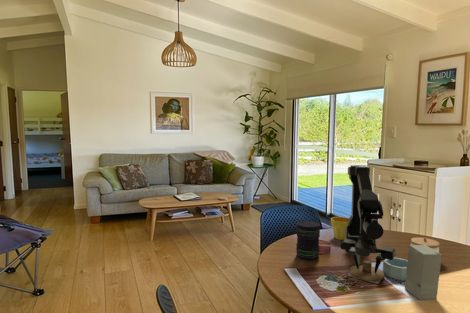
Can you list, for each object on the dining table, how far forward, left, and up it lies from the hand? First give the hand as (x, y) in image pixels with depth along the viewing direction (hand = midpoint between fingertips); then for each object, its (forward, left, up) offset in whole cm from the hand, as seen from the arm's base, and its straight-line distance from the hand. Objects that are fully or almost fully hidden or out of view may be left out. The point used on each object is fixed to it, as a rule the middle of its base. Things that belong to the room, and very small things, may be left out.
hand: (366, 270), depth 126 cm
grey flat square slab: (0, 0, -2) cm, 2 cm away
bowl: (+10, +8, -2) cm, 13 cm away
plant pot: (-22, +37, -2) cm, 43 cm away
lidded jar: (+16, +31, -2) cm, 35 cm away
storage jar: (-25, +3, -2) cm, 26 cm away
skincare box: (+19, -4, -2) cm, 20 cm away
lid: (0, 0, -1) cm, 1 cm away
